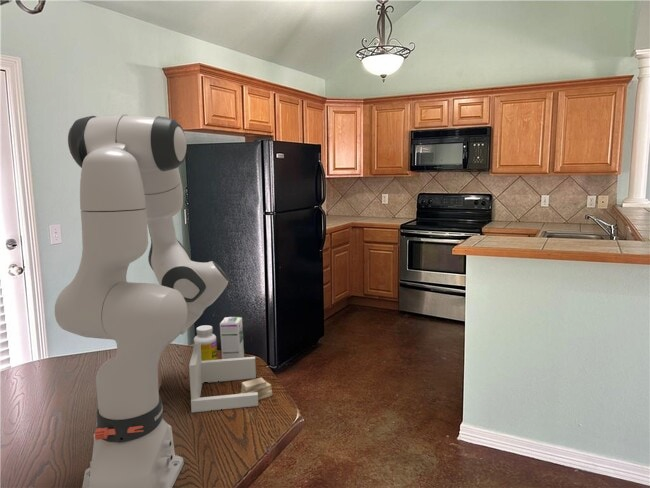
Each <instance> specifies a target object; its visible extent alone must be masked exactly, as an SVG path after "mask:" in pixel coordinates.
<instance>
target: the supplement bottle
mask: <svg viewBox="0 0 650 488" xmlns="http://www.w3.org/2000/svg"><path fill="white" fill-rule="evenodd" d="M213 331H214V329H213V326H212V325H207V324H206V325H205V324H204V325H200V326H198V327H196V335H195V336H194V337H193V345H194V344H195V342H199V341H200V342H201V359H202V361H206V360H218V345H217V343H218V342H217V341H218V340H217V336H216V334H214V333H213Z"/></svg>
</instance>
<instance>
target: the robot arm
mask: <svg viewBox="0 0 650 488" xmlns="http://www.w3.org/2000/svg"><path fill="white" fill-rule="evenodd" d="M67 145H68V146H67V147H68V149H69V152H70V154H71V157H72V159H73V160H74V162H75V163H76V164H77V165H78V166H79V168H81V172H80V179H79V205H80V206H79V207H80V220H81V238H82V240H81V241H82V243H81V244H82V251H81V260H80V264H79V267H78V270H77V272H76V274H75V276H74V278H73V279H72V281H71V282H70V283H69V284H68V285H66V286H65V287H64V288H63V289H62V290H61V291H60V293H59V294H58V296H57V298H56V301H55V304H54V318H55V320H56V323H57V325H58V326H59V327H60V328H61V329H62V330H64V331H65V332H69V333H72V334H73V335H77V336H79V337H80V336H81V337H84V338H92V339H100V340H101V339H102V340H112V341H114V342H115V344H116V353H115V355H114V356H112V357H110V358H109V359H107V360H106V361H105V362H103V364H102V365H100V367H99V369H98V370H97V373H96V375H95V385H96V395H97V406H98V408H97V411H96V419H95V427H96V428H95V431H94V433H93V447H92V456H91V461H89V463H88V468H86V469H85V471H84V476H83V481H82V486H81V488H174V487H173V486H174V485H175V482H176V480H177V478H178V477H179V475H180V472H181V470H182V468H183V467H184V464H185V462H184V458H183V456H179V455H177V454H176V451H175V446H174V437H173V436H174V435H173V429H172V426H171V425H170V424H169V423H167V422H166V421H165V419H164V418H163V417H164V412H163V410H164V407H163V402H162V397H161V396H160V394H159V391H160V389H159V388H158V365H159V360H160V361H161V356H162V353H163V351H164V350H165V349H166V348H167V347H169V345H170V344H171V343H172V342H174V341H175V340H176V339H177V338H178V337H179V335H184V334H185V333H186V332H187V331H188V329H190V328H191V327H192V325H194V323H196V321H197V320H198V319H200V317H201V316H202V315H203V314H204V312H205V310H206V309H207V308H208V307H209V306H211V305H212V304H214V302H215V301H216V300H217V299H218V298H219V297H220V296H221V294H222V293H223V292H224V290H225V289H226V288H227V286H228V284H229V278H228V275H227V274H226V273H225V271H224V270H223V269H222V267H221V266H220V265H219V264H218V263H217V262H215V261H213V260H211V261H208V262H207V261H206V262H200V261H194V260H191V258H190V257H189V255H188V252H187V250H186V248H185V247H184V245H183V244H182V243H181V242H180V241H179V239H177V236H176V229H175V224H174V218H173V217H174V216H175V215H177V214H178V213H180V211H181V210H182V208H183V205H184V190H183V183H182V178H181V175H180V170H179V167H180V166H181V165H182V164H183V163H184V161H185V158H186V154H187V139H186V136H185V132H184V129H183V127H182V126H181V124H179V123H178V122H177V121H176V120H175V119H173V118H170V117H166V116H161V115H158V116H156V117H154V116H146V115H129V114H109V115H101V116H96V115H89V116H86V117H85V116H84V117H81V118H78V119H76V120H74V122H73V123H72V125H71V126H70V128H69V131H68V135H67ZM148 235H149V236H148ZM149 237H150V241H151V242H150V248H149V252H148V255H147V256H148V260H147V261H148V265H149V266H150V268H151V269H152V271H153V273H154V275H155V278H156V280H157V282H158V284H157V283H147V282H132V281H130V282H129V281H128V280H127V273H128V268H129V266H130V264H132V263H133V262H136V261H137V260H138V259H140V258H141V257H142V256H143V255H144V254H145V253H146V251H147V250H148V246H149Z"/></svg>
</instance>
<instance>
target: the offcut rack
mask: <svg viewBox="0 0 650 488" xmlns="http://www.w3.org/2000/svg"><path fill="white" fill-rule="evenodd" d="M188 364H189V365H188V367H189V368H188V369H189V371H188V372H189V386H190V409H191V413H199V412H200V413H201V412H202V413H203V412H210V411H211V410H212V411H219V410H220V411H221V409H222V410H229V409H230V410H231V409H239V408H240V409H241V408H250V407H259V400H258V392H254V393H243V394H239V393H236V394H224V395H222V394H221V395H213V396H203V397H202V395H201V393H202V388H203V384H205V383H204V382H208V383H218V381H219V382H228V381H230V382H231V381H240V380H253V379H257V368H256V356H246V357H245V356H244V357H243V358H231V359H222V358H221V359H219V358H217V360H206V361H202V359H201V342H200V341H199V342H195V344H194V343H193V348H192V353H191V357H190V361H189V363H188ZM212 411H211V412H212Z"/></svg>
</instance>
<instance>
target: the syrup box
mask: <svg viewBox="0 0 650 488" xmlns="http://www.w3.org/2000/svg"><path fill="white" fill-rule="evenodd" d="M243 327H244V326H243V317H242V316H228V317H227V316H226V317H224V318H223V319H222V320H221V321H220V322H219V331H220V333H219V335H220V348H221V359H231V358H243V357H245V348H244V346H245V345H244V344H245V343H244V331H243Z"/></svg>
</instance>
